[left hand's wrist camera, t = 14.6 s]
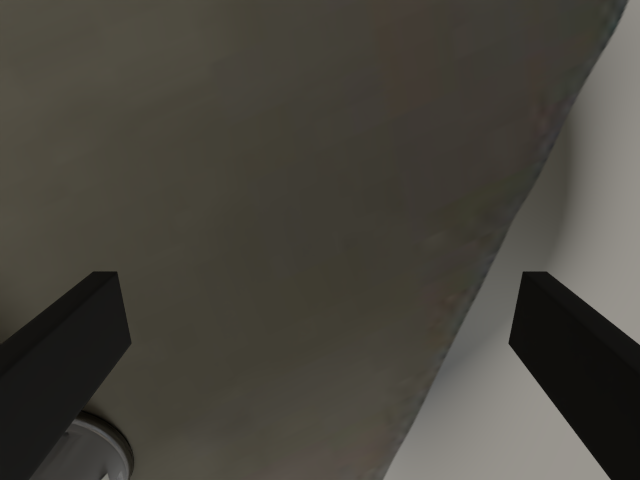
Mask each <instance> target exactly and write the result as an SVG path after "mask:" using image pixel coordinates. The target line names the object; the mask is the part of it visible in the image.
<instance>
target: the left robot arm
mask: <svg viewBox="0 0 640 480" xmlns="http://www.w3.org/2000/svg"><path fill="white" fill-rule="evenodd" d="M130 345H131V338H130V333H129V328H128V323H127V318H126V313H125V309H124V304H123V299H122V294H121V289H120V284H119V279H118V274H117V272H92V273H91V274H90V275H88V276H87V277H86V278H85V279H83V280H82V281H81V282H80V283H78V284H77V285H76V286H74V287H73V288H72V289H71V290H69V291H68V292H67V293H66V294H64V295H63V296H62V297H61V298H59V299H58V300H57V301H55V302H54V303H53V304H52V305H50V306H49V307H48V308H47V309H45V310H44V311H43V312H42V313H40V314H39V315H38V316H36V317H35V318H34V319H33V320H31V321H30V322H29V323H28V324H26V325H25V326H24V327H23V328H21V329H20V330H19V331H17V332H16V333H15V334H14V335H12V336H11V337H10V338H9V339H7V340H6V341H5V342H4V343H2V344H1V345H0V480H129V479H130V477H131V475H132V472H133V468H134V458H133V454H132V451H131V448H130V446H129V444H128V443H127V441H126V440H125V438H124V437H123V436H122V435H121V434H120V433H119V432H118V431H117V430H116V429H115V428H114V427H112V426H111V425H110V424H108V423H107V422H105V421H103V420H101V419H100V418H97V417H95V416H93V415H90V414H88V413H85V412H81V410H82V409H83V407H84V406H85V405H86V403H87V402H88V401H89V399H90V398H91V397H92V395H93V394H94V393H95V391H96V390H97V389H98V387H99V386H100V385H101V383H102V382H103V381H104V379H105V378H106V377H107V375H108V374H109V373H110V371H111V370H112V369H113V367H114V366H115V365H116V363H117V362H118V361H119V359H120V358H121V357H122V355H123V354H124V353H125V351H126V350H127V349H128V347H129V346H130ZM509 345H510V346H511V347H512V349H513V350H514V351H515V353H516V354H517V355H518V357H519V358H520V359H521V361H522V362H523V363H524V365H525V366H526V367H527V369H528V370H529V371H530V373H531V374H532V375H533V377H534V378H535V379H536V381H537V382H538V383H539V385H540V386H541V387H542V389H543V390H544V391H545V393H546V394H547V395H548V397H549V398H550V399H551V401H552V402H553V403H554V405H555V406H556V407H557V409H558V410H559V411H560V413H561V414H562V415H563V417H564V418H565V419H566V421H567V422H568V423H569V425H570V426H571V427H572V429H573V430H574V431H575V433H576V434H577V435H578V437H579V438H580V439H581V440H582V442H583V443H584V445H585V446H586V447H587V449H588V450H589V451H590V452H591V454H592V455H593V457H594V458H595V459H596V461H597V462H598V463H599V465H600V466H601V467H602V468H603V470H604V471H605V472H606V474H607V475H608V476H609V478H610V479H611V480H640V345H639V344H638V343H636V342H635V341H634V340H633V339H631V338H630V337H629V336H628V335H626V334H625V333H624V332H622V331H621V330H620V329H619V328H617V327H616V326H615V325H614V324H612V323H611V322H610V321H609V320H607V319H606V318H605V317H604V316H602V315H601V314H600V313H598V312H597V311H596V310H595V309H593V308H592V307H591V306H590V305H588V304H587V303H586V302H584V301H583V300H582V299H581V298H579V297H578V296H577V295H576V294H574V293H573V292H572V291H571V290H569V289H568V288H567V287H566V286H564V285H563V284H562V283H560V282H559V281H558V280H557V279H555V278H554V277H553V276H552V275H550V274H549V273H548V272H523V274H522V279H521V284H520V289H519V294H518V299H517V304H516V309H515V313H514V318H513V324H512V328H511V333H510V338H509Z"/></svg>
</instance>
